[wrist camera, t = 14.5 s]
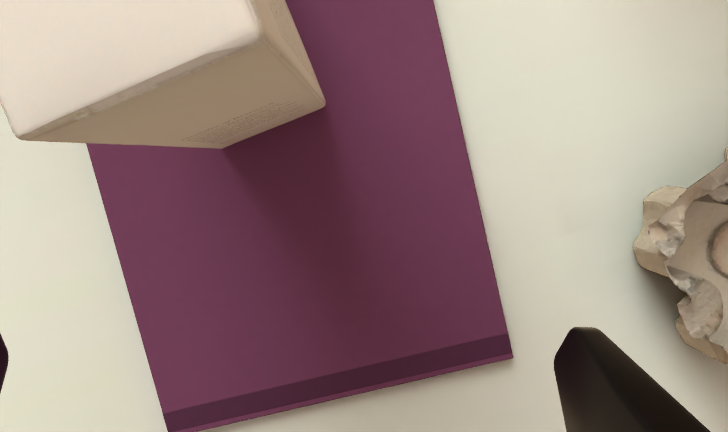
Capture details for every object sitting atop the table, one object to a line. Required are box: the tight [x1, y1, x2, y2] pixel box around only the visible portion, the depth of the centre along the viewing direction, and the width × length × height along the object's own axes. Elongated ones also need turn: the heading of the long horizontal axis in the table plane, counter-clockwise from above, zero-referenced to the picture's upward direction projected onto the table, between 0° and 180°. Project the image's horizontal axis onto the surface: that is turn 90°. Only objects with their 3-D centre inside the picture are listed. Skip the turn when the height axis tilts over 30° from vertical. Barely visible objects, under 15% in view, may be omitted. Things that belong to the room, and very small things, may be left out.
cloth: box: [86, 0, 513, 432], centre depth 20 cm, size 18×13×1 cm
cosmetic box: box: [0, 0, 326, 149], centre depth 14 cm, size 6×4×12 cm
